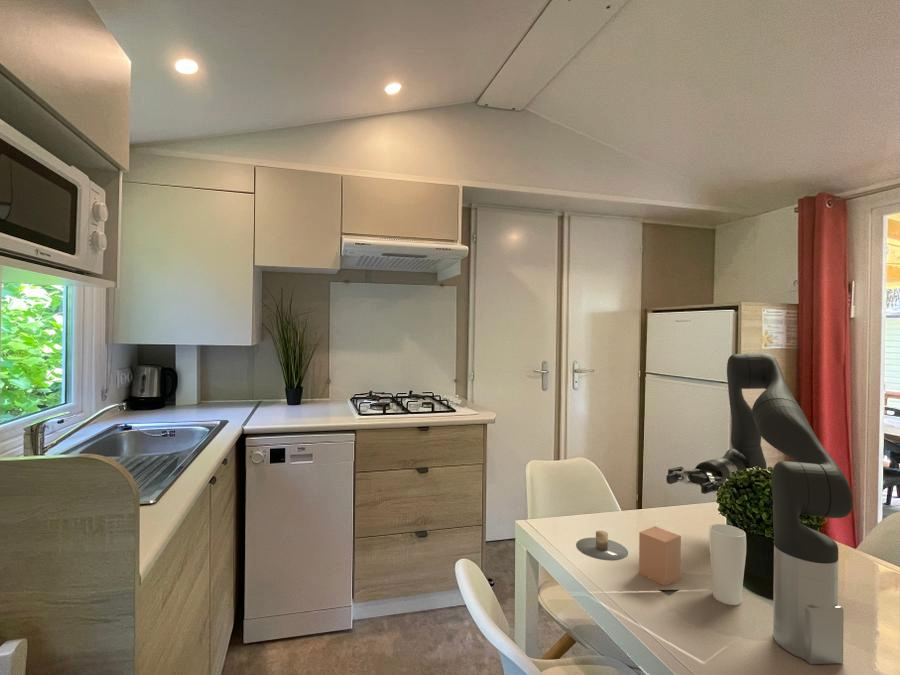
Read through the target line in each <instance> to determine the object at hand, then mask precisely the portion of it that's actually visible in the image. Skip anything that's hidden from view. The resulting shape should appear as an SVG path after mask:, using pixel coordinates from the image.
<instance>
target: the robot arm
mask: <svg viewBox="0 0 900 675" xmlns="http://www.w3.org/2000/svg"><path fill="white" fill-rule="evenodd" d="M726 379H727V389H728V399H729V400H728V401H729V407H730V408H729V409H730V416H731V432H730V444H731V446H732V448H730V449H728V450H727V451H726V452H725V454H724V455H723V456H722V457H719V458H712V459H709V460H706V461H702V462H699V463H698V464H697V465H696V466H695V468H693V469H684V467H683V466H677V467H673V468H669V469H667V475H666V478H665V479H666V483H667V484H669V485H672V484H676V483H682V484H684V485H695V486H699V487H700V492H701V494H704V495H706V494H709V493H713V494H714V493H717V492H719V491H718V489H719V487H720V485H722V484H723V483H725V481H726V476H727V475H729V474H730V473H731V472H734V471H737V470H740V469H746V468H753V467H755V466H758V467H760V468H761V469H767V468H768V467H767V460H766V458H765V455H764V452H763V449H762V448H763V447H762V439H764V440H765V442H766V443H768V444H769V445H770V446H771V447H773V448H774V449H776V450H777V451H779V452H780V453H782V454H784V455H785V456H786V457H788V458H790V459H791V460H792V461H790V460H789V461H787V460H786V461H785V460H784V461H782V460H781V461H777V462H776V463H775V464H774V465H773V469H772V472H771V494H772V516H773V517H772V522H773V524H772V526H773V604H772V605H773V607H772V608H773V611H772V613H773V614H772V616H773V618H772V619H773V622H772V623H773V626H772V628H773V629H772V632H773V633H772V635H773V639H774V641H775V642H776V643H777V645H779V646H780V647H781V648H782V649H783V650H785V651H786V652H788V653H790V654H792V655H793V656H796V657H798V658H800V659H802V660H804V661H806V662H807V663H808V664H810V665H820V664H821V665H823V664H824V665H828V664H830V665H831V664H844V621H845V620H844V618H845V617H844V608H843V606H841V605H839V554H840V553H839V547H838V544H837V542H836V541H835V540H834V539H833V538H831V537H830V536H828V535H826V534H824V533H822V532H820V531H818V530H816V529H813V528H810V527H808V526H806V525H805V524H804V523H802V522H800V515H802V516H810V517H818V518H827V519H842V518H843V519H844V518H845V517H848V516H849V515H850V514H852V511H853V508H854V496H853V491H852V488H851V486H850V483H849V481H848V479H847V477H846V475H845V474H844V473H843V470H841V468H840V466H839V465H838V464H837V462H836V461H835V460H834V458H832V456H831V454H830V453H829V452H828V451H827V449H826V448H825V447H824V446H823V444H822V443H821V442H820V440H819V438H818V437H817V435H816V434H815V432H814V430H813V429H812V426H811V425H810V422H809V420H808V419H807V416H806V415H805V413H804V411H803V410H802V407H800V405H799V403H798V402H797V401H796V399H795V397H794V396H793V394H792V392H791V390H790V388H789V386H788V384H787V381H786V379H785V377H784V374H783V372H782V370H781V367H780V365H779V363H778V361H777V359H776V358H775V356H773V355H772V354H770V353H767V352H766V353H763V352H758V353H757V352H756V353H755V352H754V353H735V354H731V355H730V356H729V357H728V358H727V363H726ZM746 389H748V390H751V389H752V390H759V389H760V390H761V389H762V390H763V389H764V391H763V392H762V393H761V394H760V395H759V396H758V397H757V399H756V400H755V401H754V402H753V405H752V407H751V406H750V405H749V404H748V402H747V401H746V399H745V397H744V395H743V390H746Z"/></svg>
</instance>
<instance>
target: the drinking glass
mask: <svg viewBox="0 0 900 675" xmlns="http://www.w3.org/2000/svg"><path fill="white" fill-rule="evenodd" d="M708 534H709V536H708V537H709V538H708V539H709V541H708V544H709V547H708V548H709V557H710V571H711V584H712V588H711V589H712V592H711V593H712V596H713V598H714V599H715V600H716V601H718V602H721V603H722V604H725V605H729V606H739V605H741V604H742V603H743V602H742V600H743V599H742V598H743V596H742V595H743V584H744V575H745V567H746V557H747V534H746V532H745V531H744V530H743V529H740V528H739V527H736V526H733V525H729V524H726V523H725V524H723V523H714V524H711V525H710V526H709V533H708Z"/></svg>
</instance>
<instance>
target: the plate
mask: <svg viewBox="0 0 900 675" xmlns="http://www.w3.org/2000/svg"><path fill="white" fill-rule="evenodd" d="M575 546H576V548H577V550H578V551H579V552H581V553H582V554H583V555H585V556H587V557H591V558H593V559H598V560H601V561H602V560H603V561H619V560H623V559H625V558H627V557H628V555H629V551H628V548H626V547H625V546H624V545H622V544H621V543H618V542H617V541H615V540H611V539H608V550H607V551H600V550H598V549H596V537H585V538H581V539H579V540H578V541H576V544H575Z"/></svg>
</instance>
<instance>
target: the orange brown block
mask: <svg viewBox="0 0 900 675" xmlns="http://www.w3.org/2000/svg"><path fill="white" fill-rule="evenodd" d="M638 539H639V543H638V544H639V545H638V546H639V548H638V550H639V551H638V555H639V557H638V563H639V564H638V574H640V575H642V576H643V577H646V578H648V579H650V580H652V581H654V582H656V583H658V584H661V585H663V586H667V585H670V584H671V583H674V582H675V581H677V580H679V579H680V578H681V570H682V569H681V564H682V563H681V561H682V560H681V556H682V554H681V553H682V552H681V551H682V550H681V549H682V545H681V544H682V536H681V535H680V534H677V533H674V532H671V531H669V530H666V529H663V528H660V527H658V526H655V525H654V526H652V527H649V528H647V529H644V530H642V531H639V538H638Z"/></svg>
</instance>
